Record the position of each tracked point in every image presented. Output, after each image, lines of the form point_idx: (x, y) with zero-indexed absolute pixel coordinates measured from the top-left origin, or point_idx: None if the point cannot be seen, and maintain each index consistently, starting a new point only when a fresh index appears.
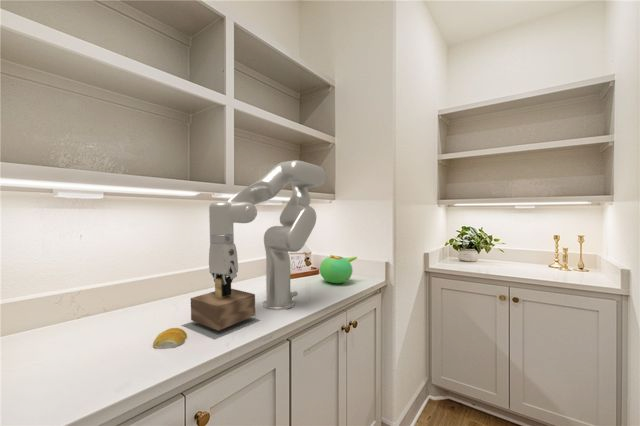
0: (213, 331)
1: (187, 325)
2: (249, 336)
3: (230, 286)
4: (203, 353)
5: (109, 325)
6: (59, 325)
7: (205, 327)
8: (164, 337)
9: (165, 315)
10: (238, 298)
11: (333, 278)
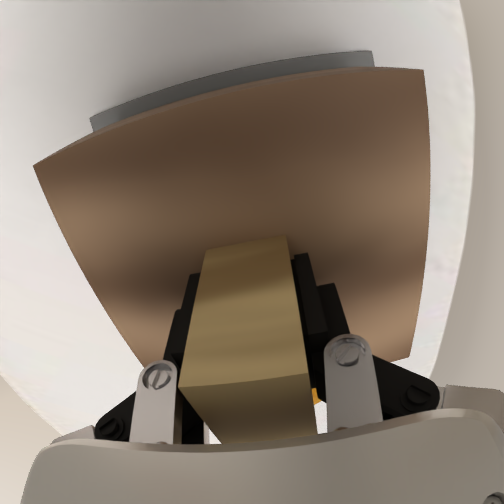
0: None
1: None
2: (451, 184)
3: (320, 305)
4: (418, 325)
5: (81, 401)
6: (58, 426)
7: None
8: (318, 402)
9: (45, 318)
10: (408, 230)
11: None
